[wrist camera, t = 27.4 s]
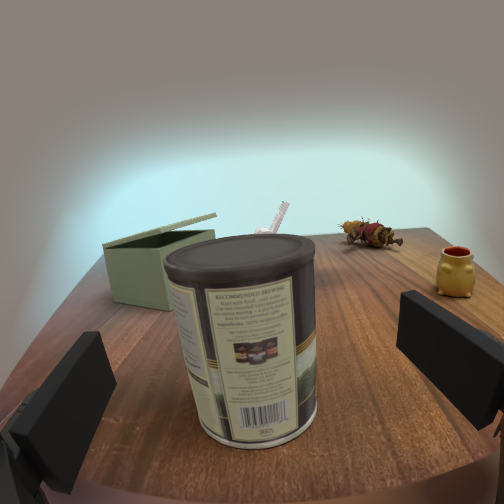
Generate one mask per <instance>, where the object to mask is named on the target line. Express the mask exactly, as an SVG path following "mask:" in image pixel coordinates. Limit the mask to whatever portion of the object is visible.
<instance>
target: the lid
mask: <svg viewBox="0 0 504 504" xmlns="http://www.w3.org/2000/svg"><path fill="white" fill-rule="evenodd" d="M213 217H217V215H216V213H212V214H208V215H204V216H200V217H197V218H193V219H189V220H185V221H181V222H177V223H174V224H170V225H167V226H162V227H159V228H155V229H152V230H149V231H145V232H142V233H138V234H135V235H132V236H128V237H125V238H122V239H118V240H115V241H112V242H108V243H106V244H103V245H102V246H103V249H104V248H108V247H112V246H115V245H119V244H123V243H126V242H130V241H134V240H138V239H142V238H145V237H149V236H153V235H157V234H161V233H164V232H167V231H171V230H174V229H177V228H180V227H184V226H187V225H190V224H194V223H197V222H200V221H204V220H207V219H210V218H213Z"/></svg>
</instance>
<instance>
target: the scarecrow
mask: <svg viewBox="0 0 504 504" xmlns="http://www.w3.org/2000/svg"><path fill="white" fill-rule="evenodd" d="M362 219H363V218H362ZM342 227H343V228H344V232H345V233H348V235H347V241H348V242H349V245H350V244H353V243H354V241H355V240H359V239H360V240H361V243H363V241H364V243H363V244H366V246H367V244H368V243H369V244H368V245H372V246H374V247H380V246H382V245H384V244H385V243H386V247H387V246H388V247H389V244H393V243H397V244H398V245H399V246H401V245H402V243H403V239H402V238H401V239H396V240H392V237H393V236H394V233H392V232H390V231H391V229H392V228H390V227H389V228H386V227H384V226H383V225H382V224H379V223H378V221H377V223H372V224H369V223H368V222H367V223H366V222H365V223H364V222H361V221H353V222H348V221H347V222H345V223H344V225H343V226H342ZM394 231H395V230H394ZM338 235H339V234H338ZM351 238H352V239H351ZM365 241H366V242H365ZM367 241H368V243H367ZM392 246H393V245H392Z"/></svg>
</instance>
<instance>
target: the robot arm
mask: <svg viewBox="0 0 504 504" xmlns="http://www.w3.org/2000/svg"><path fill="white" fill-rule="evenodd" d="M396 347H397V348H398V349H399V350H400V351H401V352H402V353H403V354H404V355H405V356H406V357H407V358H408V359H409V360H410V361H411V362H412V363H413V364H414V365H415V366H416V367H417V368H418V369H419V370H420V371H421V372H422V373H423V374H424V375H425V376H426V377H427V378H428V379H429V380H430V381H431V382H432V383H433V384H434V385H435V386H436V387H437V388H438V389H439V390H440V391H441V392H442V393H443V394H444V395H445V396H446V397H447V398H448V399H449V401H450V402H451V403H452V404H453V405H454V406H455V407H456V408H457V409H458V410H459V411H460V412H461V413H462V414H463V415H464V416H465V417H466V418H467V419H468V421H469V422H470V423H471V424H472V425H473V426H474V427H475V428H476V429H477V430H478V431H479V430H481V429H482V428H484V427H486V426H487V425H489V424H491V423H492V422H493V421H494V419H495V416H496V414H497V412H498V409H499V410H501V411H502V412H503V413H504V343H501V341H499V340H498V339H495V337H493V336H492V335H490V334H489V333H487V332H485V331H483V330H480V329H477V328H474V327H473V326H471V325H470V324H468V323H467V322H465V321H463V320H462V319H460V318H459V317H457V316H456V315H454V314H453V313H451V312H449V311H448V310H446V309H445V308H443V307H441V306H440V305H438V304H437V303H435V302H433V301H432V300H430V299H429V298H427V297H425V296H424V295H422V294H420V293H419V292H417V291H415V290H412V291H407V292H402V293H401V298H400V312H399V324H398V334H397V343H396ZM116 385H117V383H116V380H115V377H114V375H113V372H112V369H111V366H110V363H109V360H108V357H107V354H106V351H105V348H104V345H103V342H102V339H101V335H100V332H99V331H92V332H84V333H83V334H82V335H81V336H80V338H79V339H78V340H77V341H76V342H75V344H74V345H73V346H72V347H71V349H70V350H69V351H68V352H67V353H66V355H65V356H64V357H63V358H62V360H61V361H60V362H59V363H58V365H57V366H56V367H55V368H54V370H53V371H52V372H51V374H50V375H49V376H48V377H47V379H46V380H45V381H44V383H43V384H42V385H41V386H40V388H37V389H36V390H34V391H33V392H31V393H30V394H29V395H28V396H27V397H26V398H25V399H24V401H23V402H22V403H21V404H22V405H20V406H19V407H18V409H17V410H16V411H17V412H15V413H14V414H13V415H12V417H11V418H10V420H9V421H8V422H7V424H6V425H5V426H4V428H3V429H2V431H1V432H0V504H49V503H48V501H47V498H46V496H45V493H44V492H43V490H42V489H41V488H40V484H41V482H42V480H43V481H44V482H45V483H46V484H47V485H48V487H49V488H50V489H51V490H53V491H57V492H61V493H65V494H69V495H70V494H71V491H72V488H73V486H74V483H75V480H76V478H77V475H78V473H79V470H80V468H81V465H82V463H83V460H84V458H85V455H86V453H87V451H88V448H89V446H90V443H91V441H92V439H93V436H94V434H95V432H96V429H97V427H98V425H99V422H100V420H101V418H102V415H103V413H104V411H105V409H106V406H107V404H108V402H109V400H110V398H111V395H112V393H113V391H114V389H115V387H116ZM500 430H501V435H500V437H501V443H500V466H499V478H498V488H497V496H496V503H495V504H504V414H503V416H502V418H501V420H500V422H499V425H498V427H497V429H496V431H495V433H494V436H493V437H496V436H497V434H498V432H499V431H500Z"/></svg>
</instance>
